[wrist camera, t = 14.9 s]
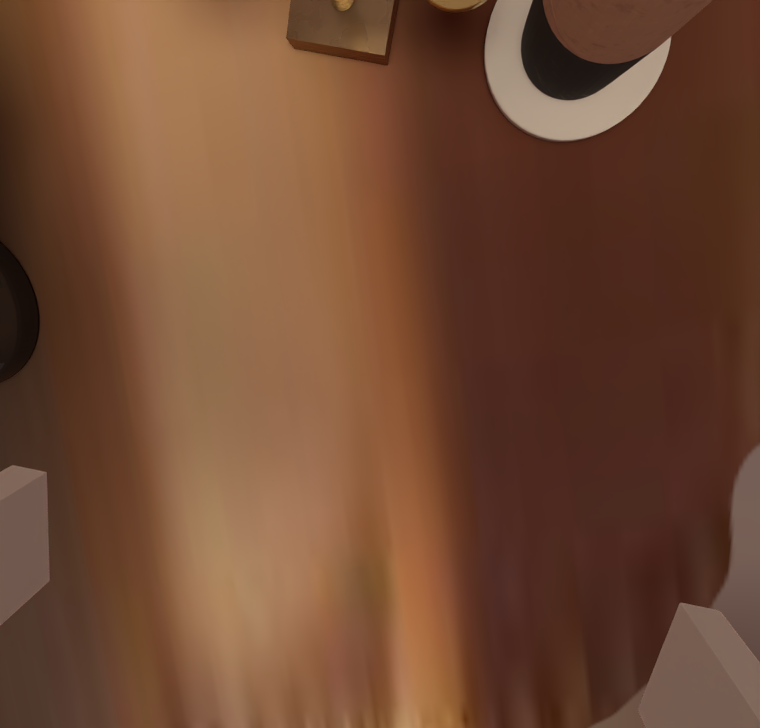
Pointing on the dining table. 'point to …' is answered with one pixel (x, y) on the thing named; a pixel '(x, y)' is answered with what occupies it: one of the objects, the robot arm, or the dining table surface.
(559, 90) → the travel mug
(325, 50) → the balance
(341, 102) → the dining table surface
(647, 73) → the cream round disc
